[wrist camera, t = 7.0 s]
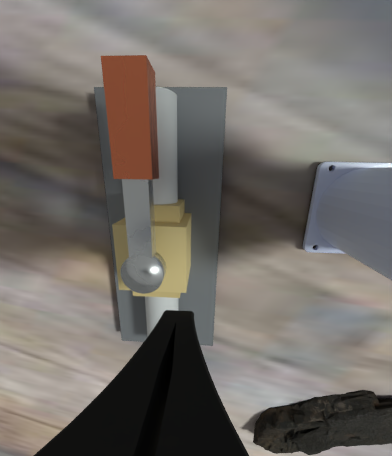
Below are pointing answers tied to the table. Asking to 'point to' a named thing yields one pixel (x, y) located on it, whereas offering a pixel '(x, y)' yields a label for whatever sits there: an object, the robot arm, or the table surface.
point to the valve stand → (174, 209)
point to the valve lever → (135, 162)
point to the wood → (326, 423)
